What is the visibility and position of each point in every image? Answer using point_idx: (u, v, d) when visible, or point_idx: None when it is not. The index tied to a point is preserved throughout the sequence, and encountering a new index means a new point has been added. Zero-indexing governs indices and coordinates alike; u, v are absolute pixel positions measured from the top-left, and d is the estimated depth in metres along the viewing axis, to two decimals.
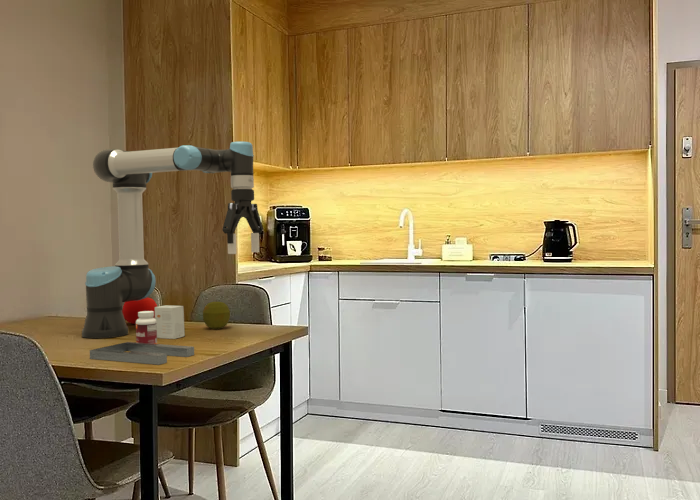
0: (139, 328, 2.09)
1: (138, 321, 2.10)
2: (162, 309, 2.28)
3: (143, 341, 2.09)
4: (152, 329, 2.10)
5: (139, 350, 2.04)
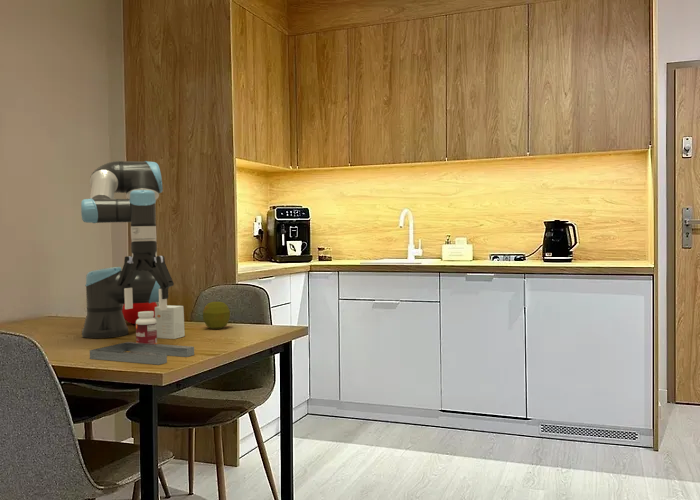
0: (139, 328, 2.09)
1: (138, 321, 2.10)
2: None
3: (143, 341, 2.09)
4: (152, 329, 2.10)
5: (139, 350, 2.04)
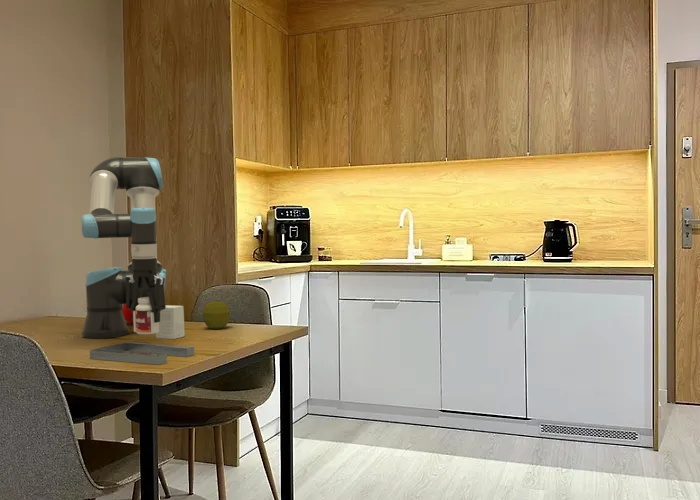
0: (139, 314, 2.10)
1: (138, 307, 2.10)
2: None
3: (143, 327, 2.10)
4: None
5: (139, 350, 2.04)
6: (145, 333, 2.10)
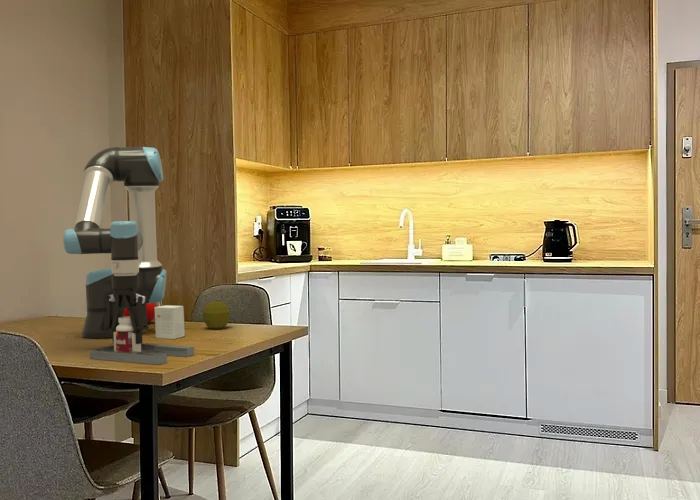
0: (119, 335, 1.96)
1: (118, 327, 1.96)
2: (162, 309, 2.28)
3: (124, 349, 1.96)
4: None
5: None
6: None
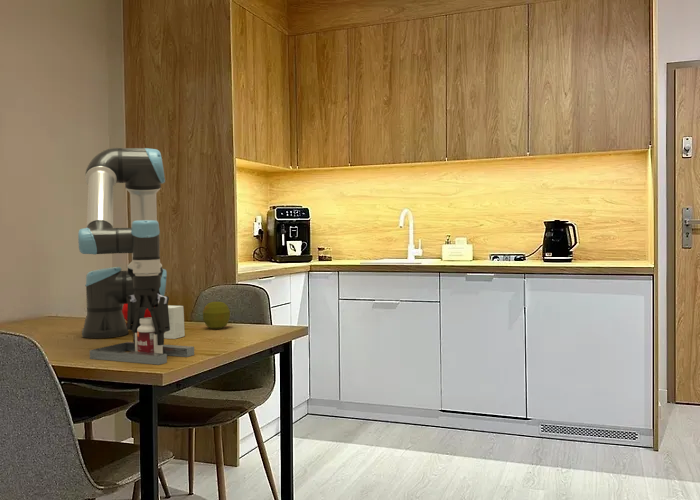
0: (141, 336, 1.92)
1: (140, 328, 1.92)
2: None
3: (145, 350, 1.92)
4: None
5: None
6: None
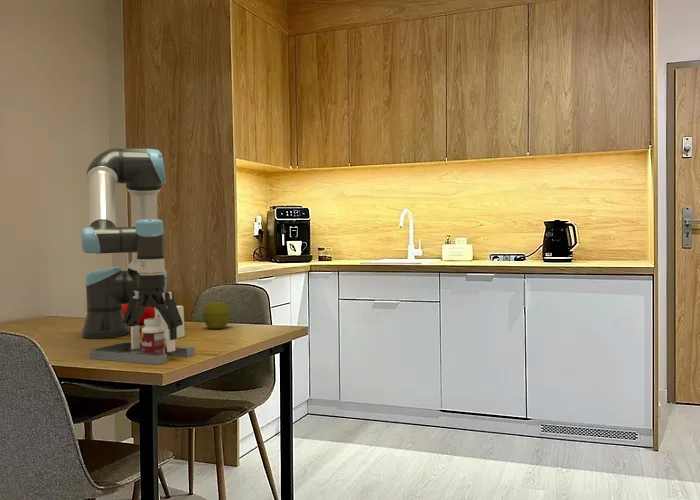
0: (145, 337, 1.92)
1: (144, 329, 1.92)
2: None
3: (150, 351, 1.91)
4: (160, 338, 1.93)
5: (139, 350, 2.04)
6: None
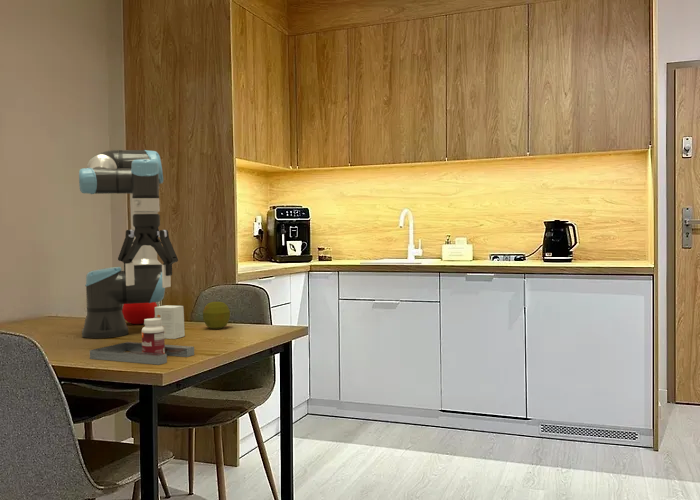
0: (145, 337, 1.92)
1: (144, 329, 1.92)
2: (162, 309, 2.28)
3: (150, 351, 1.91)
4: (160, 338, 1.93)
5: (139, 350, 2.04)
6: None
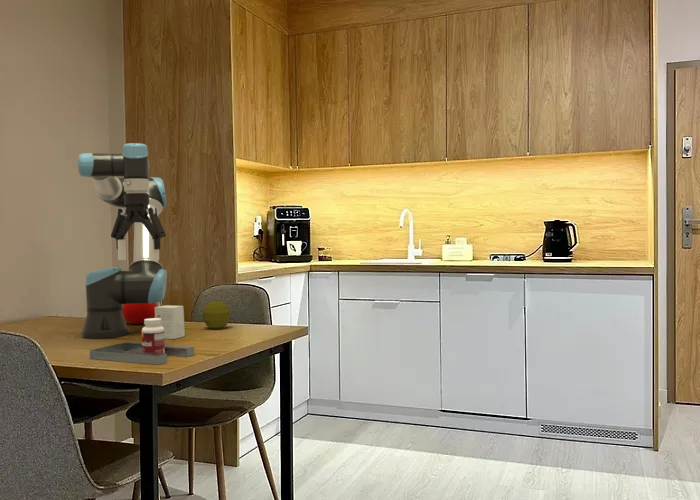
0: (145, 337, 1.92)
1: (144, 329, 1.92)
2: (162, 309, 2.28)
3: (150, 351, 1.91)
4: (160, 338, 1.93)
5: (139, 350, 2.04)
6: None
